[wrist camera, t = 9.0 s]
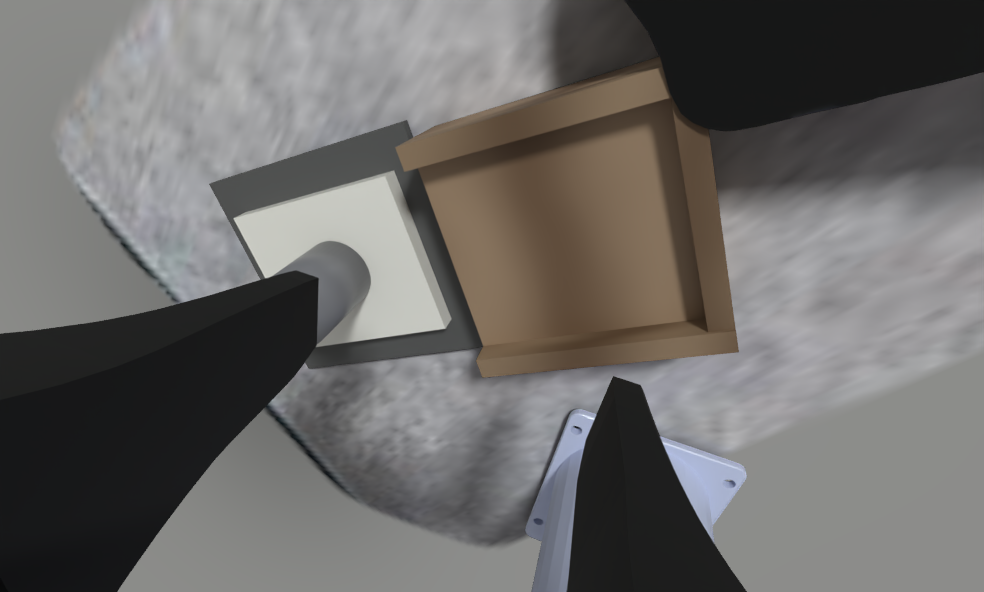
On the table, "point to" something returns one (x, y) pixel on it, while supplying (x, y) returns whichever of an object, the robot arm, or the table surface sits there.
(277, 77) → the table surface
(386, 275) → the cover plate
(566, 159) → the walnut case
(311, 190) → the rubber mat
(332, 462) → the table surface
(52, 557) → the robot arm
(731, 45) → the black sponge
